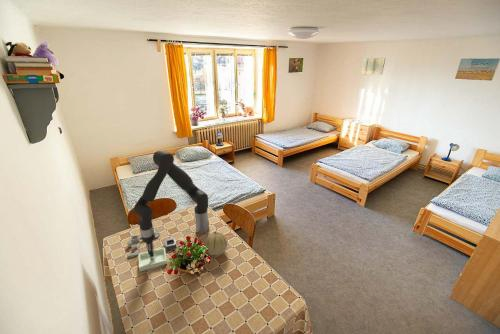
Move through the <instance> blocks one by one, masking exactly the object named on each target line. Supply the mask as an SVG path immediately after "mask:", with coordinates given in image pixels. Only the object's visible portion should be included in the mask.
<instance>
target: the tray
mask: <svg viewBox="0 0 500 334" xmlns="http://www.w3.org/2000/svg"><path fill="white" fill-rule="evenodd" d="M154 252H155V257H156V258H155V260H152V261H151V260H150V258H149V253H148V251H145V252H141V253H140V252H139V253H138V269H139V272H142V271H143V272H144V271H147V270H151V269H154V268H158V267H162V266H165V264H166V265H167V264H168V262H167V261H168V260H167V252H166V246H165V247H161V248H156V249H154Z"/></svg>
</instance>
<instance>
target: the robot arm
mask: <svg viewBox="0 0 500 334" xmlns="http://www.w3.org/2000/svg"><path fill="white" fill-rule="evenodd" d="M152 161H153V163H154V164H155V165H156V166H158V169H157V170H156V173H155V175H153V176H152V178H151V179H150V180H149V181H148V182H147V184H146V185H145V188H144V190H143V193H142V195H141V196H140V197H139V199H138V200H137V201H136V203H135V204H134V206H133V212H134V214H135V215H136V216H139V217H140V218H139V219H138V226H139V232H140V238H142V239H141V241H143V242H142V243H145V246H146V250H147V252H148V253H149V254H150V257H153V256H154V254H153V245H154V241H155V239H156V238H155V233H154V232H155V228H154V225H153V221H152V219H153V213H154V211H153V209H152V207H151V206H149V205H148V204H149V202H150V203H152V202H154V201H155V198H156V196H157V194H158V192H159V189H160V187H161V185H162V183H163V181H164V179H165V178H166V176H167V175H168V176H169V177H170V179H171V180H172V181H173V182H174V183H175V184H176V185H177V186H178V187H179V188H181V189H182V190H183V191H184V192H186V193H187V194H188V196H189V197H190V198H191V200H192V201H193V202H194V203H196V205H195V206H194V219H195V230H196V232H197V233H199V234H205V233H207V232H208V231H210V222H209V221H210V219H209V215H208V214H209V213H208V210H209V209H208V208H209V196H208V194H207V193H206V192H205V191H203V190H202V189H200V188H199V187H197V185H195V184H194V182H193V179H192V178H191V176H190V175H189V174H188V173H187V172H186V171H185V170H183V169H182V168H180V167H179V166H178V165H176V164H175V163H174V162H175V157H174V155H173V154H172V153H171V152H168V151H164V150H157V151H155V152H154V153H153V155H152ZM151 247H152V248H151Z"/></svg>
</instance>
